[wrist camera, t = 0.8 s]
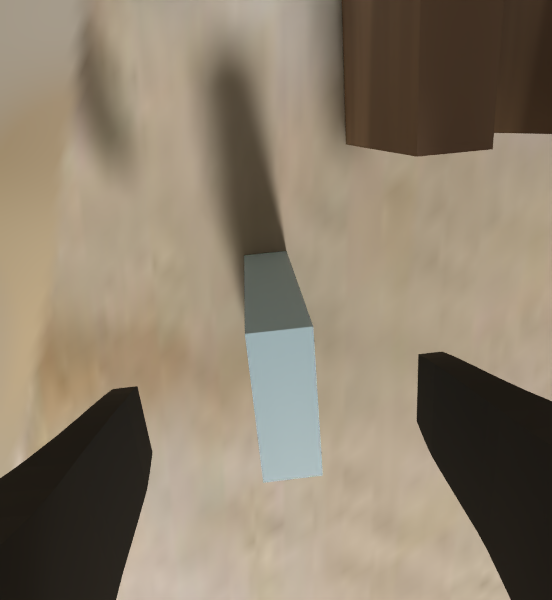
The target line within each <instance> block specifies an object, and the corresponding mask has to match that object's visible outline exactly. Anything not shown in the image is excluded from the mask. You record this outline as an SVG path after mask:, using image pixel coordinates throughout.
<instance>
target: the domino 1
mask: <svg viewBox="0 0 552 600" xmlns="http://www.w3.org/2000/svg"><path fill="white" fill-rule="evenodd" d="M503 9H504V0H342V25H343V57H344V89H345V121H346V144H347V145H353V146H359V147H364V148H370V149H376V150H382V151H388V152H394V153H400V154H406V155H411V156H427V155H437V154H447V153H458V152H468V151H478V150H488V149H493V137H494V124H495V111H496V99H497V86H498V73H499V60H500V47H501V34H502V22H503Z"/></svg>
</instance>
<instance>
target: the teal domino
mask: <svg viewBox="0 0 552 600" xmlns="http://www.w3.org/2000/svg"><path fill="white" fill-rule="evenodd" d="M244 290H245V338H246V346H247V354H248V362H249V370H250V378H251V386H252V394H253V402H254V411H255V419H256V427H257V435H258V443H259V451H260V459H261V467H262V475H263V483H264V482H272V481H281V480H289V479H297V478H306V477H314V476H322V475H323V472H322V457H321V441H320V426H319V410H318V395H317V379H316V364H315V349H314V333H313V325H312V322H311V319H310V316H309V314H308V311H307V308H306V305H305V302H304V299H303V297H302V294H301V291H300V288H299V285H298V282H297V280H296V277H295V274H294V271H293V268H292V265H291V263H290V260H289V257H288V254H287V251H281V252H271V253H262V254H252V255H244Z"/></svg>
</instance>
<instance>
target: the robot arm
mask: <svg viewBox="0 0 552 600" xmlns="http://www.w3.org/2000/svg"><path fill="white" fill-rule="evenodd" d="M417 423H418V425H419V428H420V430H421V433H422V435H423V437H424V440H425V442H426V444H427V447H428V449H429V451H430V453H431V455H432V457H433V459H434V461H435V462H436V464H437V466H438V467H439V469H440V471H441V472H442V474H443V476H444V477H445V479H446V481H447V482H448V484H449V486H450V487H451V489H452V491H453V492H454V494H455V496H456V497H457V499H458V501H459V502H460V504H461V506H462V507H463V509H464V510H465V512H466V514H467V515H468V517H469V519H470V520H471V522H472V524H473V525H474V527H475V529H476V530H477V532H478V534H479V536H480V537H481V539H482V541H483V543H484V545H485V547H486V548H487V550H488V552H489V554H490V557H491V559H492V561H493V563H494V565H495V567H496V569H497V571H498V573H499V575H500V578H501V580H502V582H503V584H504V586H505V588H506V590H507V592H508V594H509V597H510V599H511V600H552V401H550V400H547V399H545V398H543V397H540V396H538V395H535V394H533V393H531V392H528V391H526V390H524V389H522V388H519V387H517V386H515V385H513V384H511V383H508V382H506V381H504V380H502V379H500V378H498V377H496V376H494V375H492V374H489V373H487V372H485V371H483V370H481V369H479V368H477V367H475V366H473V365H471V364H469V363H467V362H465V361H463V360H461V359H458V358H456V357H454V356H452V355H449V354H447V353H444V352H435V353H426V354H419V358H418V395H417ZM151 459H152V449H151V444H150V440H149V436H148V431H147V427H146V422H145V418H144V414H143V409H142V405H141V400H140V396H139V392H138V387H137V386H136V387H128V388H119V389H113V390H111V391H110V392H108V393H107V394H106V395H104V396H103V397H102V398H101V399H100V400H98V401H97V402H96V403H95V404H94V405H93V406H91V407H90V408H89V409H88V410H87V411H86V412H84V413H83V414H82V415H81V416H80V417H79V418H77V419H76V420H75V421H74V422H73V423H72V424H70V425H69V426H68V427H67V428H66V429H64V430H63V431H62V432H61V433H60V434H59V435H57V436H56V437H55V438H54V439H52V440H51V441H50V442H48V443H47V444H46V445H45V446H43V447H42V448H41V449H39V450H38V451H37V452H36V453H34V454H33V455H32V456H30V457H29V458H28V459H27V460H25V461H24V462H23V463H21V464H20V465H19V466H17V467H16V468H14V469H13V470H12V471H10V472H9V473H7V474H6V475H4V476H3V477H2V478H0V600H116V598H117V594H118V590H119V586H120V582H121V578H122V574H123V571H124V567H125V564H126V560H127V557H128V554H129V550H130V547H131V543H132V540H133V537H134V533H135V530H136V526H137V523H138V519H139V516H140V512H141V509H142V505H143V502H144V498H145V495H146V491H147V486H148V480H149V474H150V467H151Z"/></svg>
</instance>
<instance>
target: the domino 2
mask: <svg viewBox="0 0 552 600" xmlns="http://www.w3.org/2000/svg"><path fill="white" fill-rule="evenodd" d="M494 133H535V134H552V0H504V9H503V22H502V34H501V47H500V60H499V73H498V86H497V99H496V111H495V124H494Z"/></svg>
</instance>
